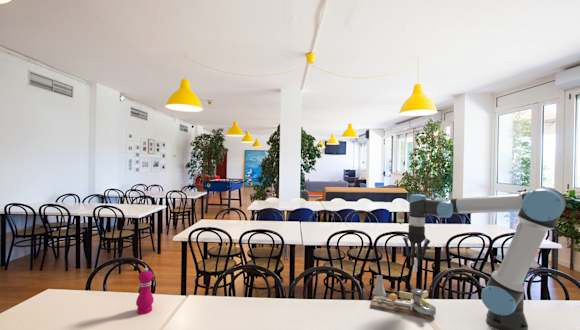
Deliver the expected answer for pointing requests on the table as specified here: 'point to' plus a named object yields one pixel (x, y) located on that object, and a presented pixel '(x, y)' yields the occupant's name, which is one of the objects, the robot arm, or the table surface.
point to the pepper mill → (145, 292)
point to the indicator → (394, 297)
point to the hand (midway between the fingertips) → (415, 271)
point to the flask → (379, 287)
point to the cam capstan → (419, 302)
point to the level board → (394, 306)
